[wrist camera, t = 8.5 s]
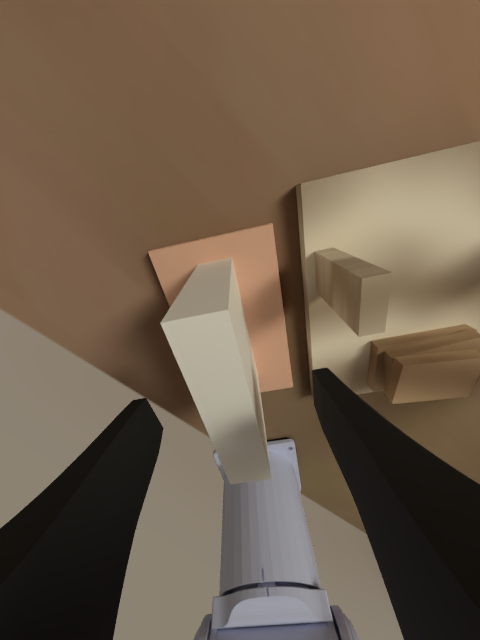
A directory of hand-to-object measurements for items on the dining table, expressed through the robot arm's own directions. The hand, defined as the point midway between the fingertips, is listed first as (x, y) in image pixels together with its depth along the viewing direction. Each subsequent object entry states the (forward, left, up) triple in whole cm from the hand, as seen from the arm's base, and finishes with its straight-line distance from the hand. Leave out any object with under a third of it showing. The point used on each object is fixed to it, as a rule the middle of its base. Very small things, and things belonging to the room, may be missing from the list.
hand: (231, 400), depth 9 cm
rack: (0, -12, -6) cm, 14 cm away
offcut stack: (-4, -12, -5) cm, 14 cm away
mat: (0, 0, -6) cm, 6 cm away
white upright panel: (0, 0, -6) cm, 6 cm away
